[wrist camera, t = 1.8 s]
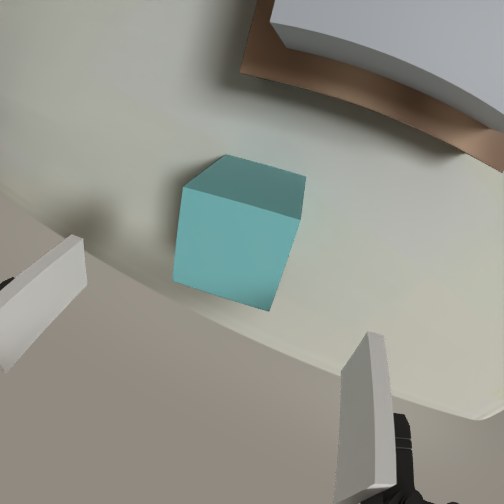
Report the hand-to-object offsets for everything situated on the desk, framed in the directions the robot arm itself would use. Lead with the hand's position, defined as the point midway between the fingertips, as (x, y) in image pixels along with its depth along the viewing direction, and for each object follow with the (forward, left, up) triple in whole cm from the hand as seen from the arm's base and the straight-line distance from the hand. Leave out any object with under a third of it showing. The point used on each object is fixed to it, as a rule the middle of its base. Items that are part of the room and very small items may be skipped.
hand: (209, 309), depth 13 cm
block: (0, 0, -12) cm, 12 cm away
